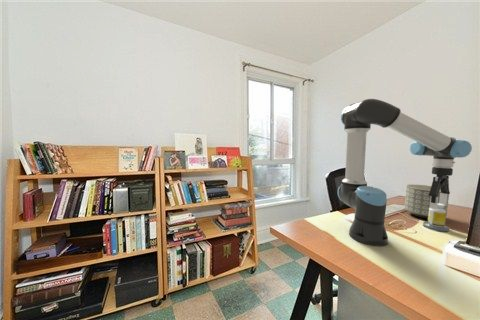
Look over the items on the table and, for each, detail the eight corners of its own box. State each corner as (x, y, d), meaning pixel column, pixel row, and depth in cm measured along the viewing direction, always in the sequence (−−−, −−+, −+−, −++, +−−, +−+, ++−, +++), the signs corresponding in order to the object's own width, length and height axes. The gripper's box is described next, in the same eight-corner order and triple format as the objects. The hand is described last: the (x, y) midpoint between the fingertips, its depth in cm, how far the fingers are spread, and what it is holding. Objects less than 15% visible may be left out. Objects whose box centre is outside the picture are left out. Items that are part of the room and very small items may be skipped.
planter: (440, 215, 125) (443, 187, 123) (451, 225, 109) (455, 193, 107) (401, 209, 135) (404, 183, 133) (406, 217, 119) (409, 188, 117)
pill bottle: (448, 228, 101) (450, 206, 100) (433, 227, 102) (435, 205, 101) (438, 223, 107) (440, 202, 106) (424, 222, 109) (426, 201, 108)
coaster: (430, 230, 101) (430, 227, 101) (418, 223, 111) (418, 220, 111) (454, 233, 99) (455, 230, 99) (440, 225, 108) (440, 222, 108)
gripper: (444, 169, 93) (439, 212, 95) (460, 167, 105) (455, 205, 107) (423, 167, 99) (419, 208, 101) (441, 165, 112) (436, 202, 113)
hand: (437, 207), depth 104 cm, fingers open, 13 cm apart
